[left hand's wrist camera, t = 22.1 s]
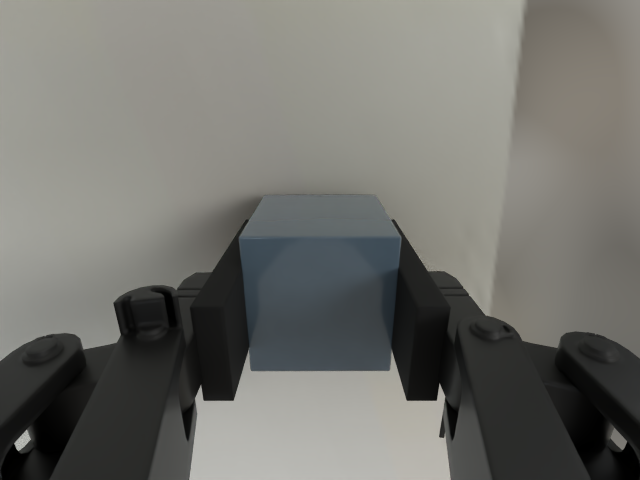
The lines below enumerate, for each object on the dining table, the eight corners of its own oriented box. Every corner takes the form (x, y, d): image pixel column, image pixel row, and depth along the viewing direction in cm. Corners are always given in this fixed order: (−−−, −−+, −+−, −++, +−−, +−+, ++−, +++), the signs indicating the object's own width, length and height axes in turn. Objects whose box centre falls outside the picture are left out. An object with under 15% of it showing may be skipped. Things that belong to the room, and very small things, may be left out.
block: (269, 296, 16) (250, 372, 11) (263, 194, 14) (237, 237, 10) (370, 295, 16) (390, 371, 11) (376, 194, 14) (402, 236, 9)
